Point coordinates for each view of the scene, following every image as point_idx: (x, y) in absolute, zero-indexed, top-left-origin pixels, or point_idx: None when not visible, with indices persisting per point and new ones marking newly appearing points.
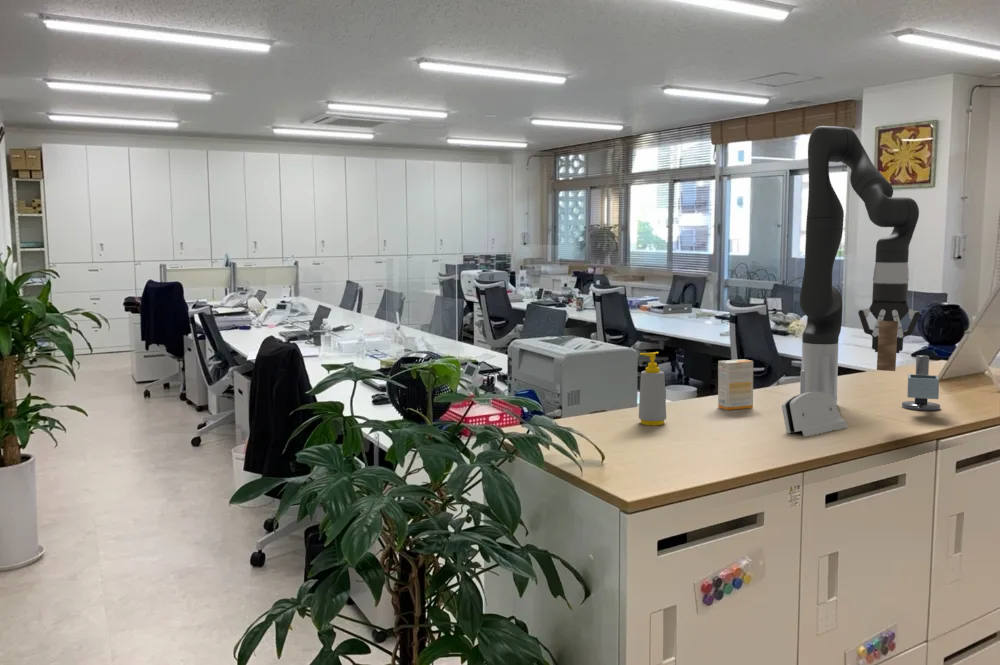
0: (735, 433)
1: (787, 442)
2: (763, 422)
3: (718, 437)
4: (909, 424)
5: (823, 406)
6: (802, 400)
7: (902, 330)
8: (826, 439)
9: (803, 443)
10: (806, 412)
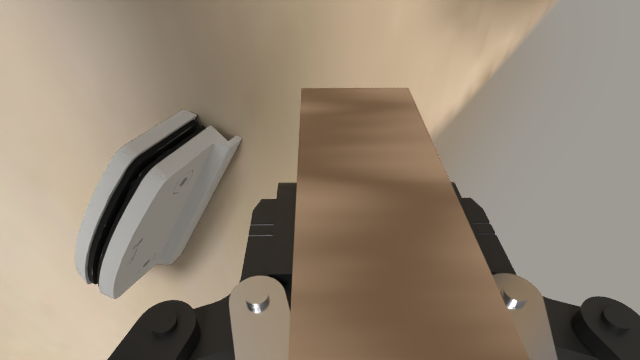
0: (47, 271)
1: (169, 296)
2: (17, 156)
3: (44, 303)
4: (423, 10)
5: (165, 209)
6: (123, 280)
7: (543, 351)
8: (226, 258)
9: (197, 293)
10: (148, 256)
